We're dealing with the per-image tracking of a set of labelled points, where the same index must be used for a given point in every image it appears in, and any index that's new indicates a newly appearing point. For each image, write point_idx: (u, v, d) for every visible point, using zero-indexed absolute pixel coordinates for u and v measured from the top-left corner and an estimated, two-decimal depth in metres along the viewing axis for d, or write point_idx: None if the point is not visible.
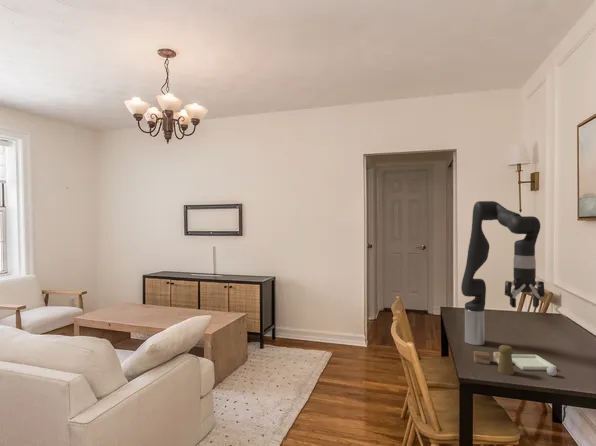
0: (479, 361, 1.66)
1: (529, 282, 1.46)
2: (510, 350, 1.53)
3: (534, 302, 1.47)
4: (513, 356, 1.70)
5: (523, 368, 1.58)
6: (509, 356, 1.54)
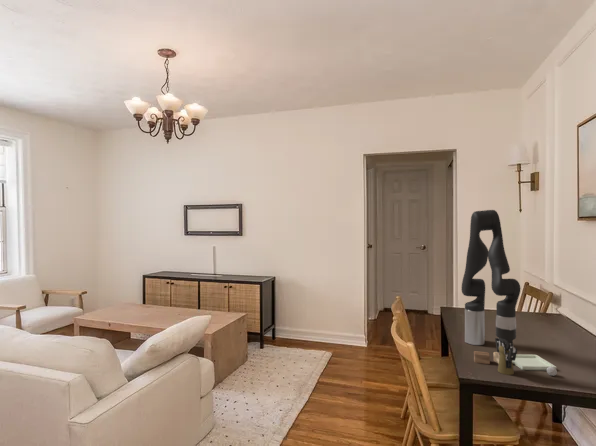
0: (479, 361, 1.66)
1: None
2: None
3: None
4: None
5: (523, 368, 1.58)
6: None
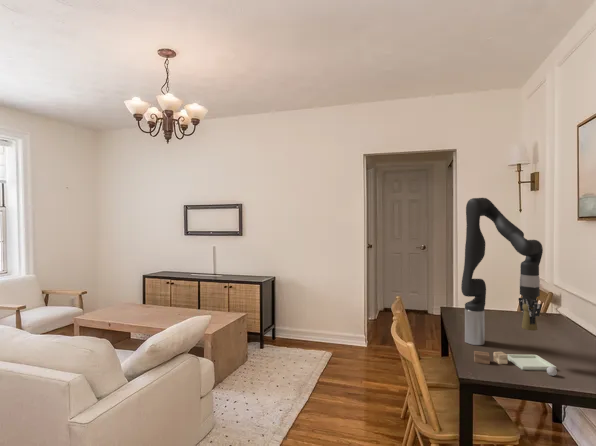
0: (479, 361, 1.66)
1: None
2: None
3: None
4: (513, 356, 1.70)
5: (523, 368, 1.58)
6: None
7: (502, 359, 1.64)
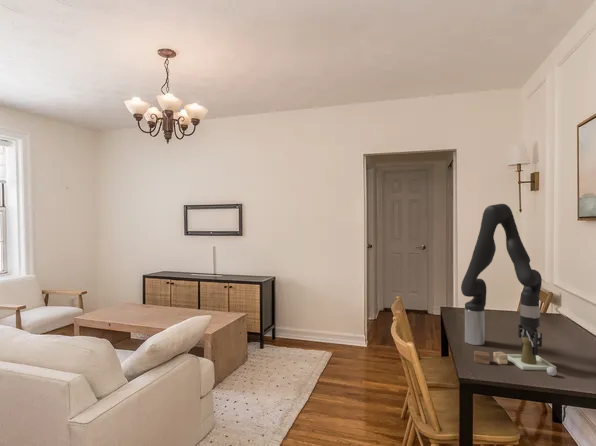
0: (478, 361, 1.66)
1: None
2: (533, 341, 1.63)
3: None
4: (513, 356, 1.70)
5: (523, 368, 1.58)
6: None
7: (502, 359, 1.64)
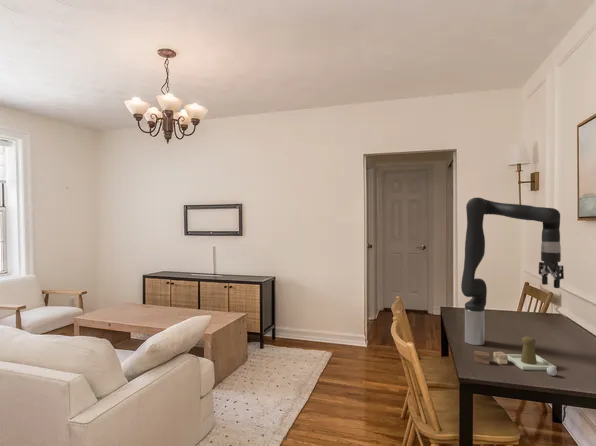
0: (478, 361, 1.66)
1: None
2: (533, 341, 1.63)
3: (545, 280, 1.75)
4: (513, 356, 1.70)
5: (523, 368, 1.58)
6: (532, 347, 1.63)
7: (502, 359, 1.64)
